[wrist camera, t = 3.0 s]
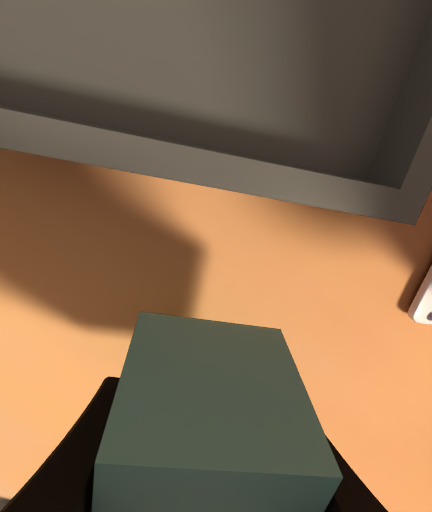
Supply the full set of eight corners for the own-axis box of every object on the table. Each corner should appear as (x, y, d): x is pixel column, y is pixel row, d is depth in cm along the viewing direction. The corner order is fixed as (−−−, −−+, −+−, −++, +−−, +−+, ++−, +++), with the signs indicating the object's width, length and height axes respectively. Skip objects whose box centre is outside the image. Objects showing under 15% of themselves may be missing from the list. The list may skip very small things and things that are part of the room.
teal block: (280, 329, 11) (343, 477, 6) (247, 425, 13) (278, 593, 8) (139, 311, 10) (94, 463, 6) (127, 415, 12) (86, 593, 7)
